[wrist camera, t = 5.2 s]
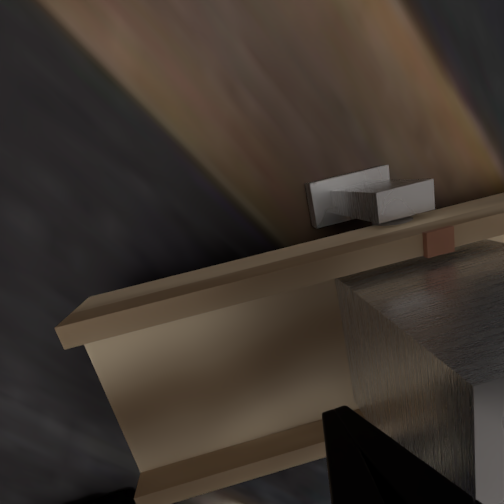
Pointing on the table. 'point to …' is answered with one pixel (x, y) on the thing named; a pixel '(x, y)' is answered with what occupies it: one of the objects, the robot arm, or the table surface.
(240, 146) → the table surface
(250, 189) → the table surface
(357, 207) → the pivot stand
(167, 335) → the oak beam
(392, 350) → the metal block
